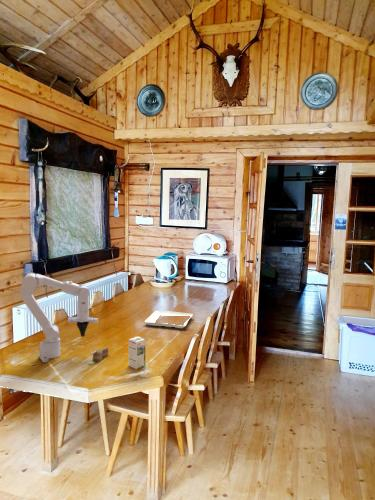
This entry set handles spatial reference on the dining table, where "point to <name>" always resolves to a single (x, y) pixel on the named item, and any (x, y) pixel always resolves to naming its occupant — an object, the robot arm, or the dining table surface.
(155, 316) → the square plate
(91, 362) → the pale green tile
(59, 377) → the dining table surface
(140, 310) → the dining table surface
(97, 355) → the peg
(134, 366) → the syrup box
